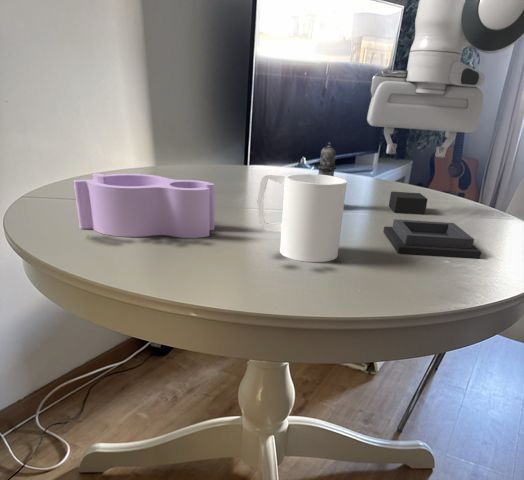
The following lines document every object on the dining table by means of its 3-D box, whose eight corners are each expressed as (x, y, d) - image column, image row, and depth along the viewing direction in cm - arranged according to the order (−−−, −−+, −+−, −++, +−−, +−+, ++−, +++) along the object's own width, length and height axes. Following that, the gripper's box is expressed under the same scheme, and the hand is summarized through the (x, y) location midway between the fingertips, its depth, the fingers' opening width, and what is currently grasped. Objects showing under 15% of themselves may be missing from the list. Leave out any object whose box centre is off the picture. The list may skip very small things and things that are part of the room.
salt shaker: (315, 201, 100) (321, 139, 94) (341, 206, 97) (349, 142, 92) (303, 206, 95) (308, 141, 90) (330, 211, 93) (337, 144, 87)
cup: (263, 238, 73) (266, 169, 68) (341, 248, 70) (350, 177, 66) (246, 253, 66) (249, 177, 61) (332, 265, 64) (342, 186, 59)
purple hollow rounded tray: (219, 223, 80) (220, 180, 77) (202, 243, 69) (202, 194, 66) (105, 213, 82) (100, 171, 79) (70, 232, 71) (64, 183, 68)
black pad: (417, 207, 100) (420, 193, 98) (424, 214, 94) (427, 198, 93) (388, 206, 100) (390, 191, 98) (394, 212, 94) (396, 197, 93)
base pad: (454, 236, 80) (458, 221, 79) (480, 258, 70) (484, 241, 69) (383, 232, 80) (385, 217, 79) (397, 253, 70) (401, 236, 69)
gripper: (376, 67, 83) (363, 153, 89) (494, 76, 83) (472, 161, 89) (370, 69, 88) (358, 149, 95) (481, 76, 88) (462, 157, 95)
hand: (415, 155), depth 92 cm, fingers open, 8 cm apart
